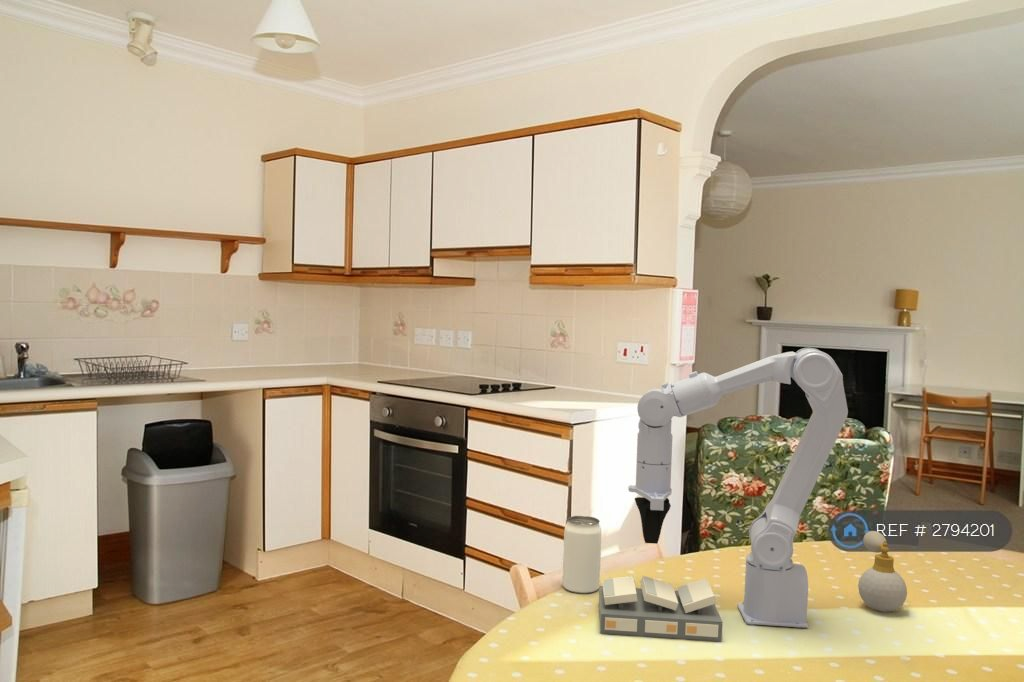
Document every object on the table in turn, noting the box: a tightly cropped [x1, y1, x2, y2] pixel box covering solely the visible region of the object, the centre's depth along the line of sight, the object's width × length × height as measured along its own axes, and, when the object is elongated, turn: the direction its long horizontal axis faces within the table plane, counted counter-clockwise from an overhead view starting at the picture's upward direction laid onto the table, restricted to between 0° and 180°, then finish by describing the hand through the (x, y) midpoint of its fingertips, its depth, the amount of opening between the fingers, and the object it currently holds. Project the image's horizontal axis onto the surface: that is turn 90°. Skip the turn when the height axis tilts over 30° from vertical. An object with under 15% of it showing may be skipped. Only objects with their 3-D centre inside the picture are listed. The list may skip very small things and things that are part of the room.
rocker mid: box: [640, 575, 678, 610], centre depth 128 cm, size 5×8×1 cm, turn 175°
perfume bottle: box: [857, 530, 908, 613], centre depth 137 cm, size 8×10×12 cm
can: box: [562, 515, 603, 595], centre depth 141 cm, size 6×6×12 cm
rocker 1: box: [602, 575, 638, 605], centre depth 128 cm, size 5×8×1 cm, turn 175°
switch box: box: [598, 585, 723, 642], centre depth 128 cm, size 18×12×4 cm
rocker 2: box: [676, 577, 718, 613], centre depth 127 cm, size 5×8×1 cm, turn 175°
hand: (650, 542), depth 135 cm, fingers closed
